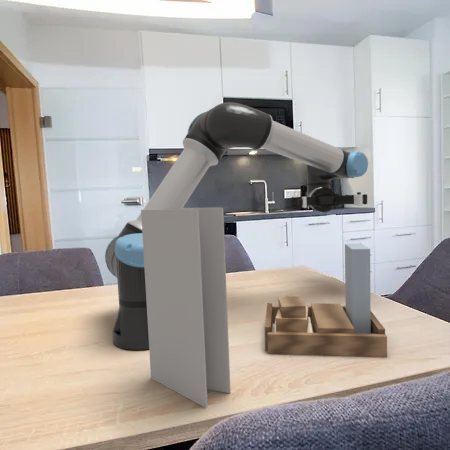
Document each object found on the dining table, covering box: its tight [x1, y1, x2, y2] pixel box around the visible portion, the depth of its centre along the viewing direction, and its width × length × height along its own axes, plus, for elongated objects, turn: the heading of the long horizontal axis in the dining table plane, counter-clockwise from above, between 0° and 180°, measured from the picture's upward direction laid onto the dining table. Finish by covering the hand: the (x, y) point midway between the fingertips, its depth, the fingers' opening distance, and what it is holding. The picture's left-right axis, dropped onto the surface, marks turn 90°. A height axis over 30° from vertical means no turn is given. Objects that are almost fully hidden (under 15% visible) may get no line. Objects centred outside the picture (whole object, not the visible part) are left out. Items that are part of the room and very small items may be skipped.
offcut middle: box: [276, 305, 309, 333], centre depth 79 cm, size 6×9×3 cm
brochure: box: [140, 207, 232, 409], centre depth 60 cm, size 14×6×30 cm, turn 47°
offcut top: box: [277, 296, 307, 318], centre depth 79 cm, size 5×7×2 cm
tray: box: [264, 302, 388, 358], centre depth 79 cm, size 23×18×5 cm
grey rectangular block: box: [344, 242, 372, 334], centre depth 77 cm, size 4×8×20 cm, turn 171°
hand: (332, 201), depth 90 cm, fingers open, 13 cm apart
